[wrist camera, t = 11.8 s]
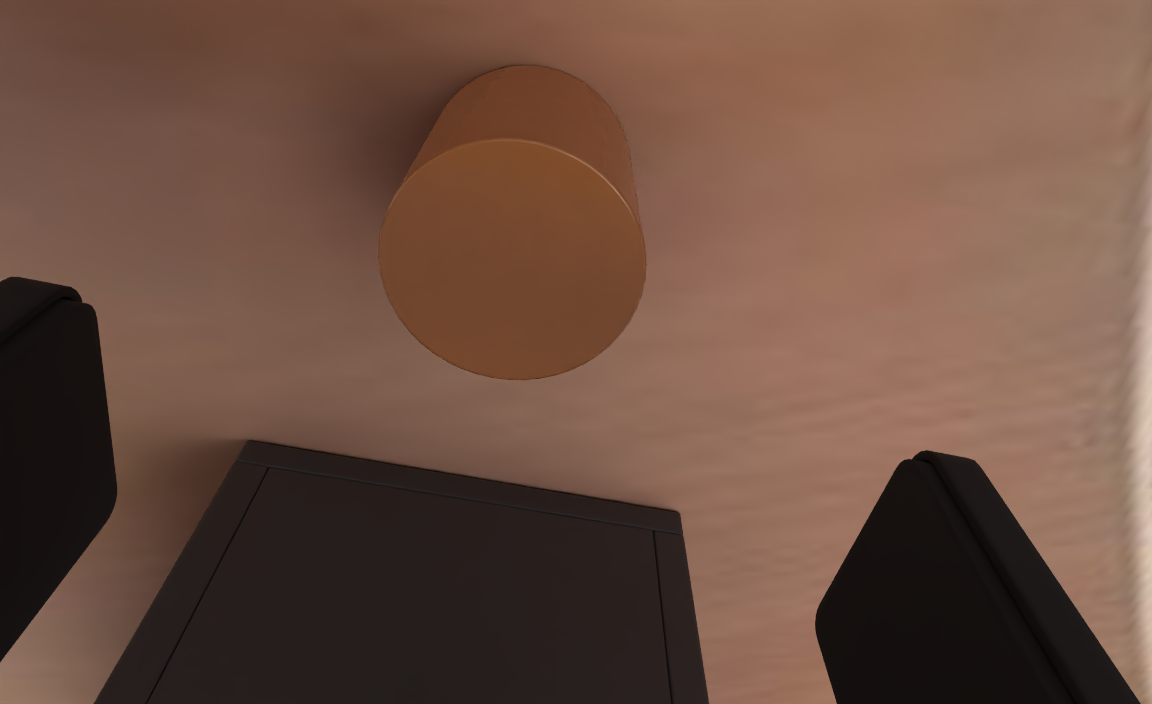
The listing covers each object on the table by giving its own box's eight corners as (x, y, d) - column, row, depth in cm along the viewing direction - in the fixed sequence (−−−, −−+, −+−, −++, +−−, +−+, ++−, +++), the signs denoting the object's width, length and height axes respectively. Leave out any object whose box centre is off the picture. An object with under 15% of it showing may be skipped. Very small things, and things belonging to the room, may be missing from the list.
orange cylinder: (442, 42, 15) (390, 108, 11) (653, 90, 16) (679, 172, 12) (419, 239, 18) (368, 356, 14) (604, 277, 18) (611, 400, 14)
